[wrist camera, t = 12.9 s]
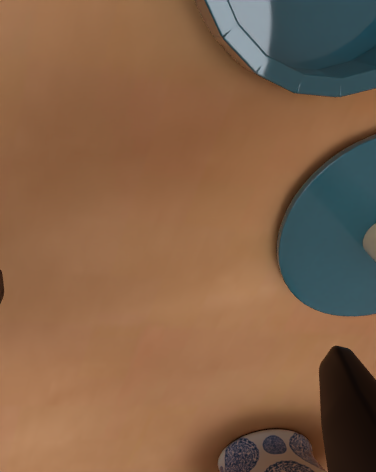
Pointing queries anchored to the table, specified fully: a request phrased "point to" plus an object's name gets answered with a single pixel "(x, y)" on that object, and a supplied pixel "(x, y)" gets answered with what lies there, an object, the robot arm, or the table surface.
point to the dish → (299, 41)
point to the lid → (334, 235)
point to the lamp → (269, 453)
